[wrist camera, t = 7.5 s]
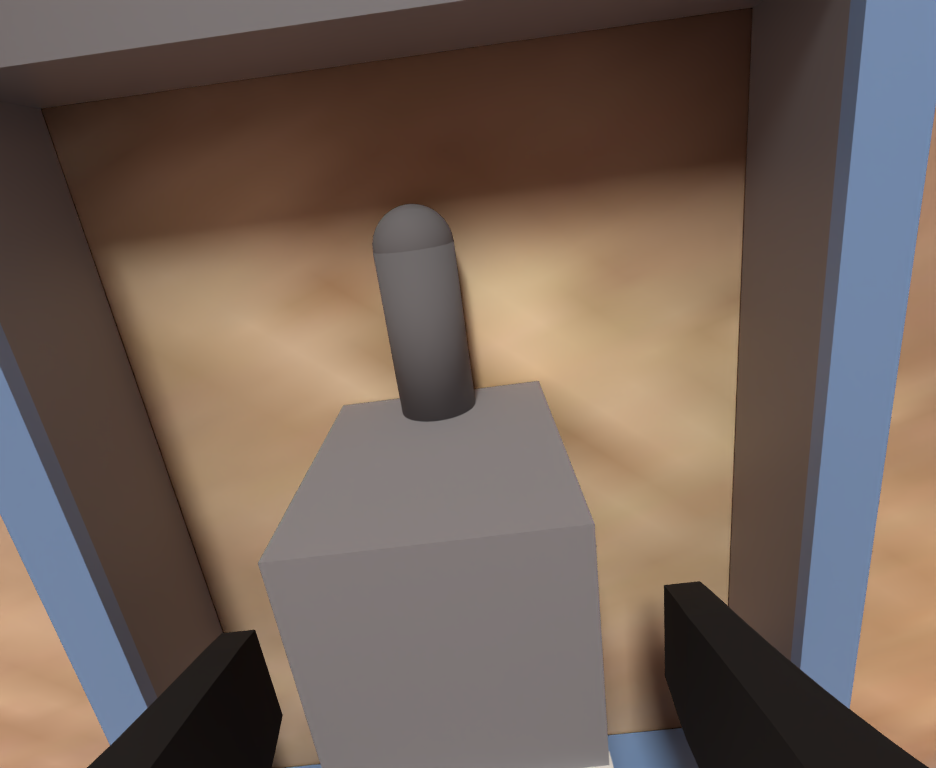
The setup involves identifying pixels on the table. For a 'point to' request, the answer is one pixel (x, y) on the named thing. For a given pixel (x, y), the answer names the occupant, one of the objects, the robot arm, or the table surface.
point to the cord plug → (441, 555)
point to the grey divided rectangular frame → (429, 31)
